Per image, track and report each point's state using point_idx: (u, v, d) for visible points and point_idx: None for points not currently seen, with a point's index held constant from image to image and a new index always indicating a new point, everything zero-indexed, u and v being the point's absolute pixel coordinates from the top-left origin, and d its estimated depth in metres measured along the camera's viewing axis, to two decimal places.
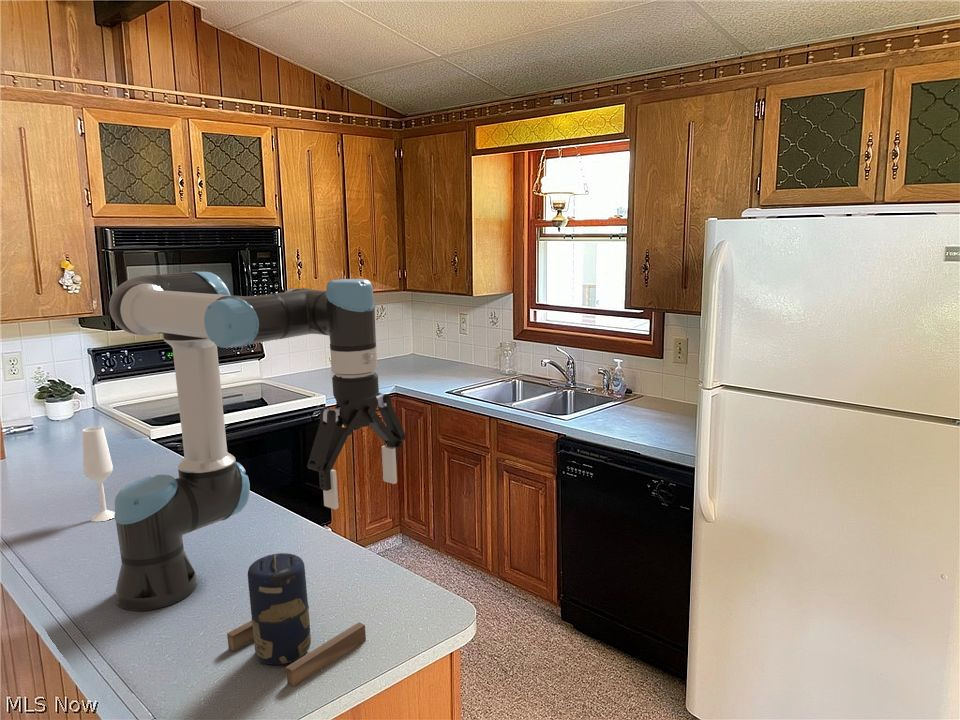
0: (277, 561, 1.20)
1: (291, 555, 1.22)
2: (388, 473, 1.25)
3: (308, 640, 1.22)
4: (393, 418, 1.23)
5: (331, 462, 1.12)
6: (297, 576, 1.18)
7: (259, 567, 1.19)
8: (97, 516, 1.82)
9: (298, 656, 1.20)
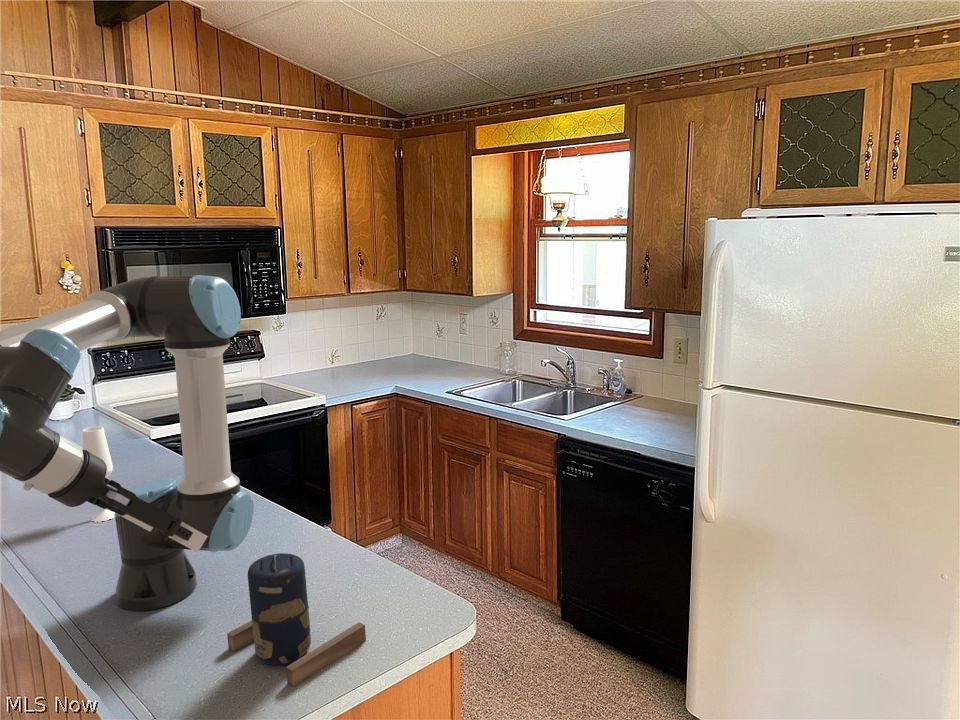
0: (277, 561, 1.20)
1: (291, 555, 1.22)
2: None
3: (308, 640, 1.22)
4: (138, 519, 0.99)
5: None
6: (297, 576, 1.18)
7: (259, 567, 1.19)
8: (97, 516, 1.82)
9: (298, 656, 1.20)
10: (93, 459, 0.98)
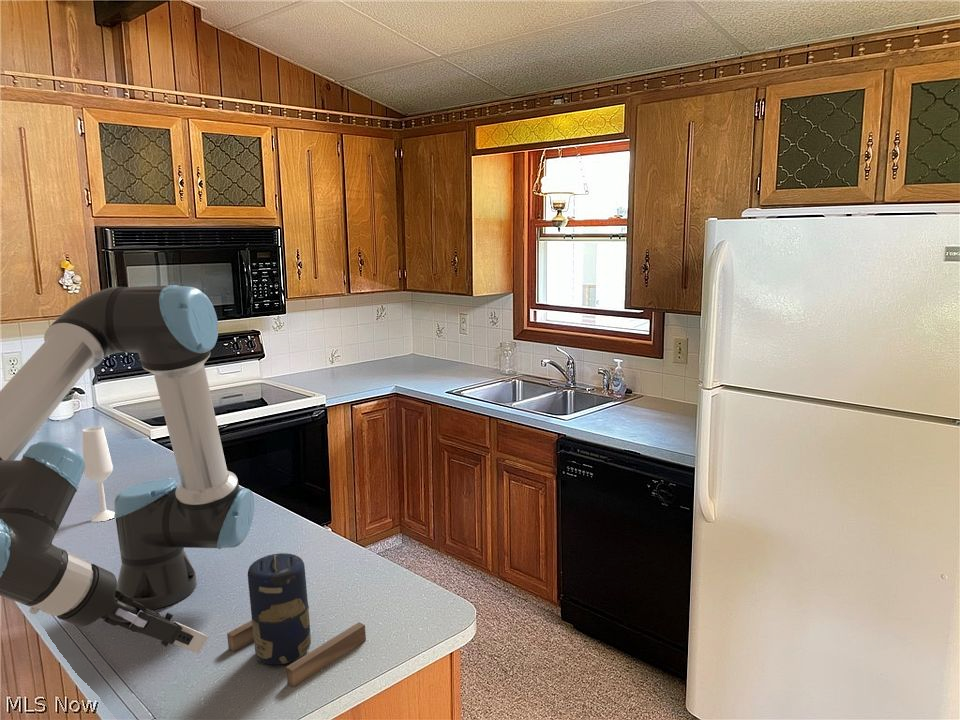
0: (277, 561, 1.20)
1: (291, 555, 1.22)
2: None
3: (308, 640, 1.22)
4: None
5: None
6: (297, 576, 1.18)
7: (259, 567, 1.19)
8: (97, 516, 1.82)
9: (298, 656, 1.20)
10: (103, 576, 0.94)
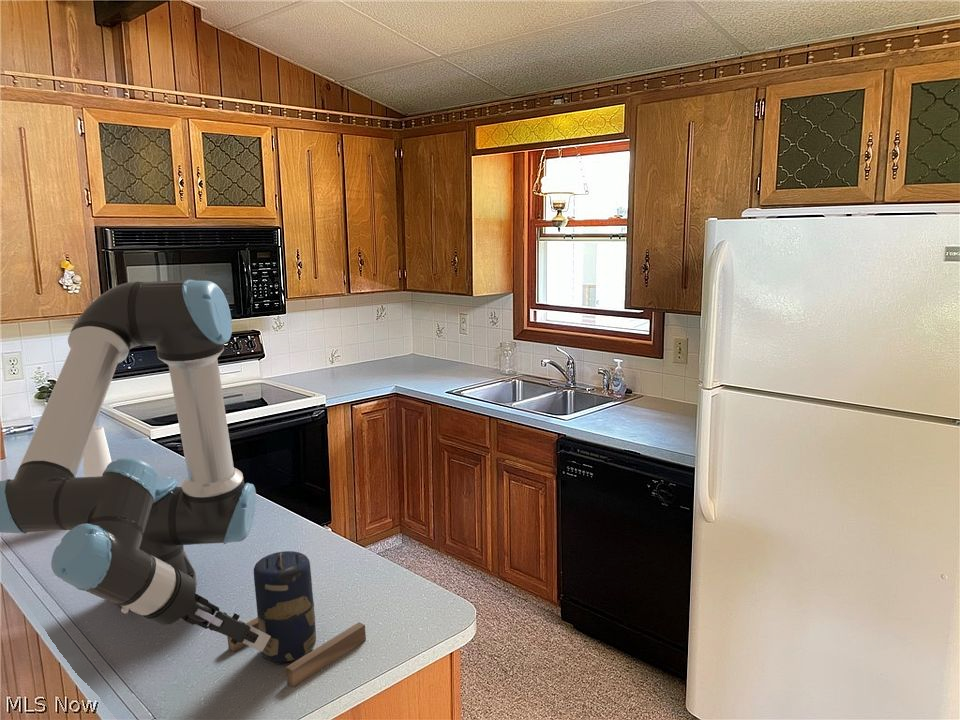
0: (283, 559, 1.21)
1: (296, 553, 1.23)
2: None
3: (313, 637, 1.23)
4: None
5: None
6: (303, 574, 1.19)
7: (265, 565, 1.20)
8: None
9: (304, 653, 1.20)
10: (184, 579, 1.03)
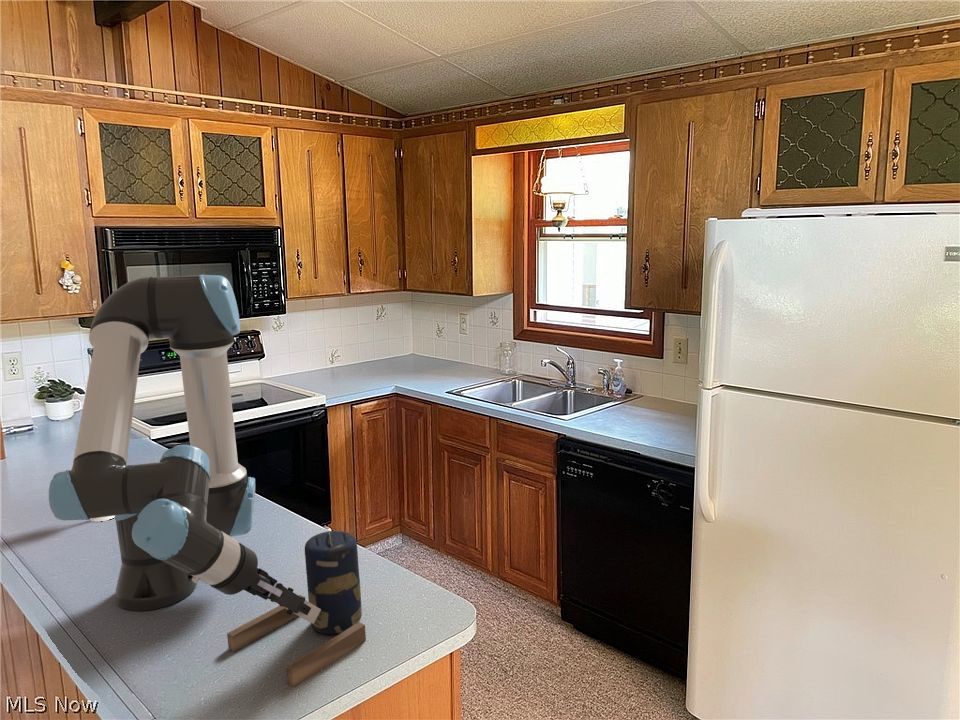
0: (331, 538, 1.29)
1: (343, 533, 1.31)
2: None
3: (360, 612, 1.30)
4: None
5: None
6: (351, 551, 1.26)
7: (315, 543, 1.27)
8: None
9: (351, 626, 1.28)
10: (248, 552, 1.11)
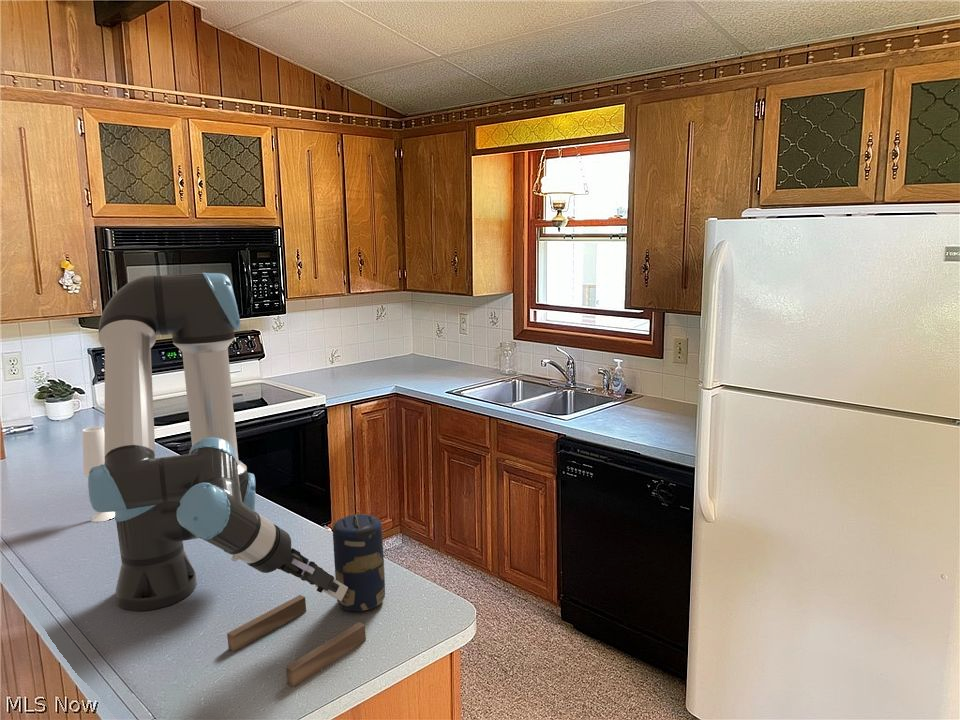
0: (358, 520, 1.36)
1: (368, 516, 1.38)
2: None
3: (384, 591, 1.37)
4: (312, 581, 1.21)
5: (307, 581, 1.27)
6: (377, 533, 1.34)
7: (343, 525, 1.35)
8: (97, 516, 1.82)
9: (376, 604, 1.35)
10: (282, 532, 1.17)
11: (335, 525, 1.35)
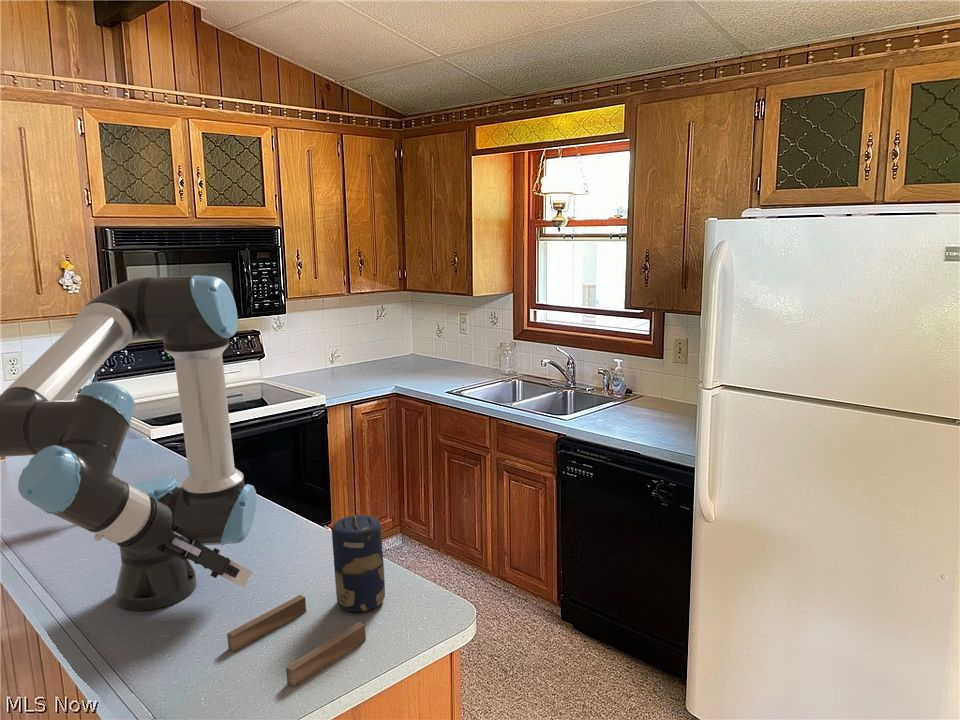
0: (357, 521, 1.36)
1: (368, 516, 1.38)
2: None
3: (383, 591, 1.38)
4: None
5: None
6: (376, 534, 1.33)
7: (342, 526, 1.35)
8: None
9: (376, 605, 1.35)
10: (160, 507, 0.99)
11: (334, 526, 1.34)
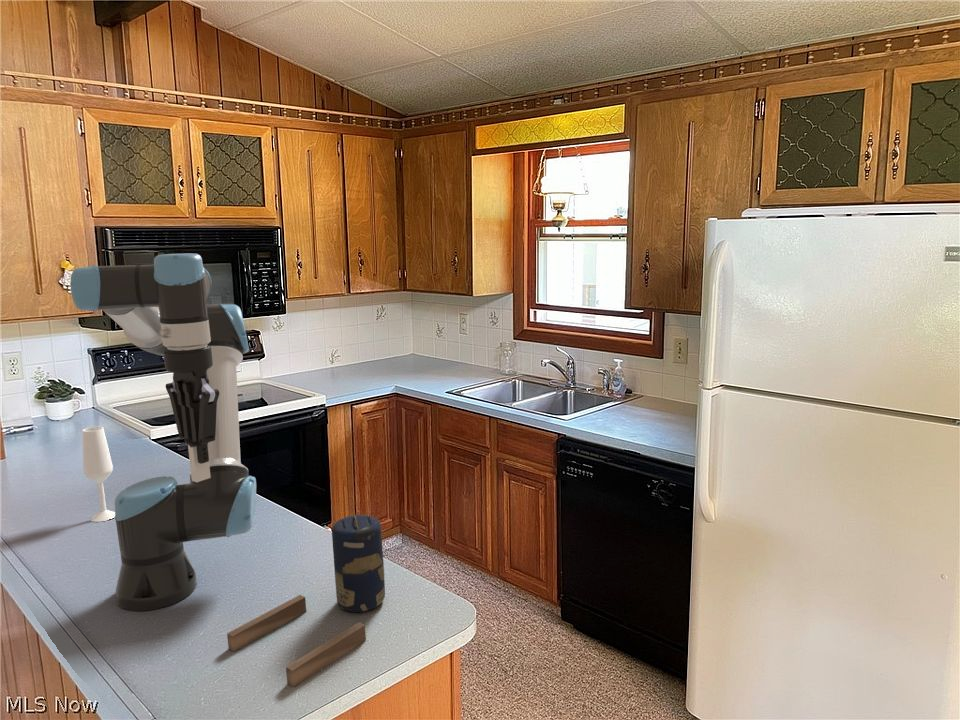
0: (357, 521, 1.36)
1: (368, 516, 1.38)
2: None
3: (383, 591, 1.38)
4: (200, 415, 1.17)
5: (185, 435, 1.21)
6: (376, 534, 1.34)
7: (342, 526, 1.35)
8: (97, 516, 1.82)
9: (376, 605, 1.35)
10: (211, 351, 1.19)
11: (334, 526, 1.34)
